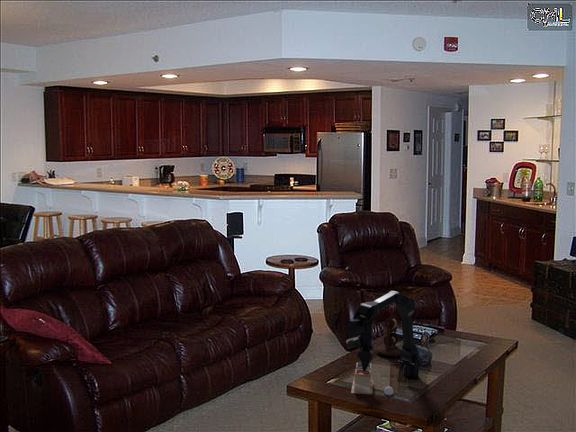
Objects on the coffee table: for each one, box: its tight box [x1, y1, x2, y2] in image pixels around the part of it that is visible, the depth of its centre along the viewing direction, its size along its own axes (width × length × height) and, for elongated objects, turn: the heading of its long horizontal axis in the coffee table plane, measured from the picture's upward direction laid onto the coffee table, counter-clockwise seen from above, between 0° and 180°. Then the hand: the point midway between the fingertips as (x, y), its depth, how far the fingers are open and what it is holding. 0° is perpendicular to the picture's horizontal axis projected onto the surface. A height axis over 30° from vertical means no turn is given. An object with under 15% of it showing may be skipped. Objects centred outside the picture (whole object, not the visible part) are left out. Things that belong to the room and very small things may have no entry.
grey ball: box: [383, 385, 394, 396], centre depth 281 cm, size 4×4×4 cm
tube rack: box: [350, 362, 374, 395], centre depth 289 cm, size 18×9×9 cm, turn 171°
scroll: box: [375, 314, 402, 359], centre depth 337 cm, size 15×15×20 cm
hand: (364, 367), depth 284 cm, fingers open, 9 cm apart
